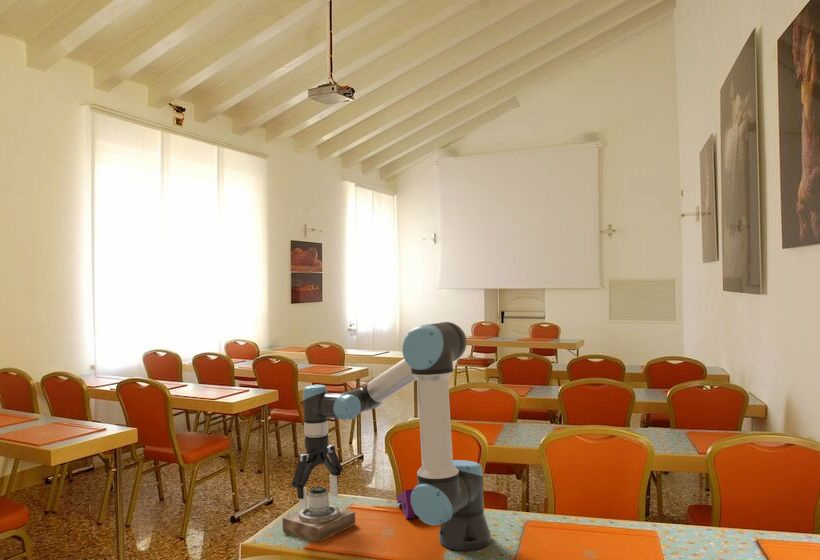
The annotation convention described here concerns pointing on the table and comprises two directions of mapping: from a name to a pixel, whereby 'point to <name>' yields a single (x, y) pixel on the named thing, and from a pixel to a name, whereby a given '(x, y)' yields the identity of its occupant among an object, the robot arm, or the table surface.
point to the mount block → (318, 523)
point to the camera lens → (318, 502)
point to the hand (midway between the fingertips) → (319, 502)
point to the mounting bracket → (406, 503)
